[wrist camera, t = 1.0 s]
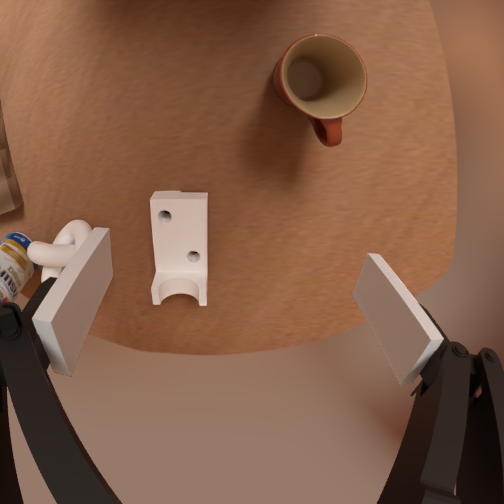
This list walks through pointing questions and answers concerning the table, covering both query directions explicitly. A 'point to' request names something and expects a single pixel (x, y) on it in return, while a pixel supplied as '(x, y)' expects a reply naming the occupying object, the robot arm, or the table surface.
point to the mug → (321, 82)
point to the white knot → (59, 248)
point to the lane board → (7, 175)
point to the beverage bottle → (14, 265)
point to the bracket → (180, 244)
